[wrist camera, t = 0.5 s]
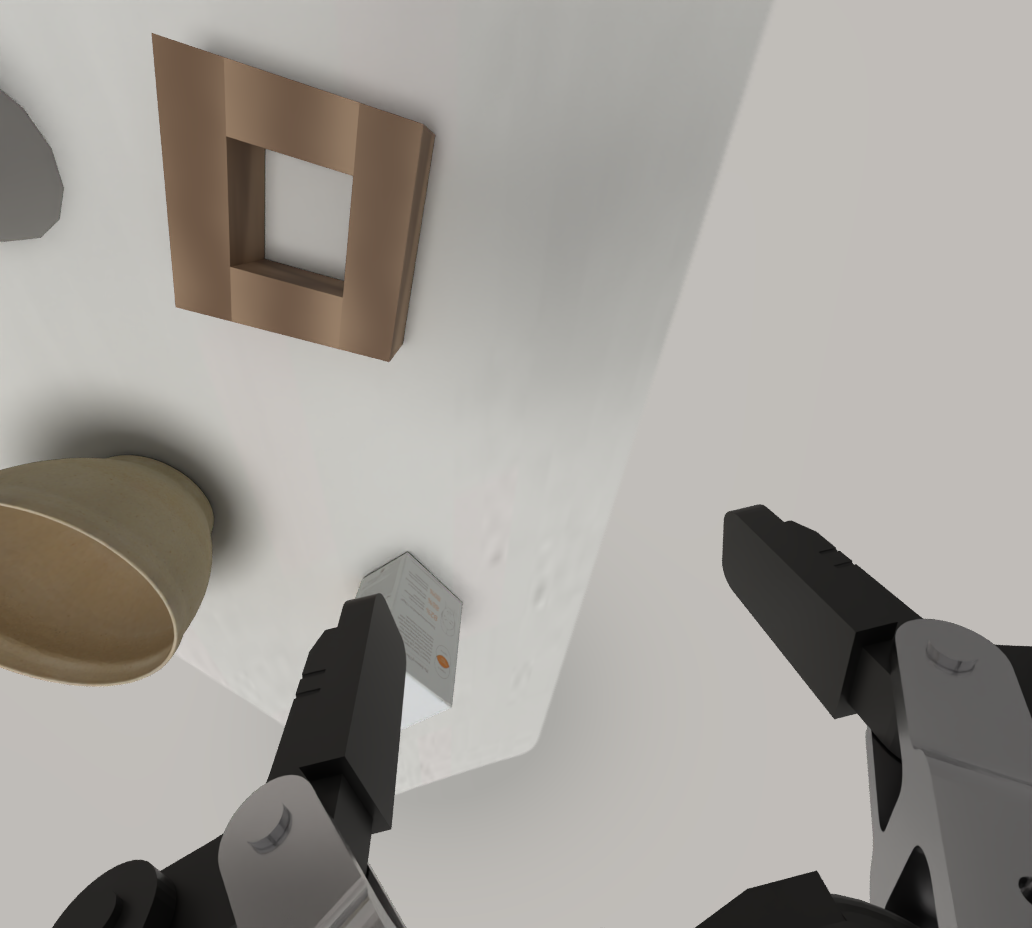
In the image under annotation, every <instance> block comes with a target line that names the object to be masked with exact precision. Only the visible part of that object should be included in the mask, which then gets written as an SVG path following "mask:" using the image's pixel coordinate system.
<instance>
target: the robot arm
mask: <svg viewBox="0 0 1032 928" xmlns="http://www.w3.org/2000/svg"><path fill="white" fill-rule="evenodd" d="M723 532H724V533H723V555H722V566H723V571H724V575H725V577H726V580H727V582H728V584H729V586H730V587H731V589H732V590H733V592H734V593H735V594H736V595H737V597H738V598H739V599H740V600H741V602H742V603H743V604H744V606H745V607H746V608H747V609H748V611H749V612H750V613H751V614H752V616H753V617H754V618H755V619H756V621H757V622H758V623H759V625H760V626H761V627H762V628H763V630H764V631H765V632H766V633H767V635H768V636H769V637H770V638H771V640H772V641H773V642H774V643H775V645H776V646H777V647H778V648H779V650H780V651H781V652H782V654H783V655H784V656H785V657H786V659H787V660H788V661H789V662H790V664H791V665H792V666H793V667H794V669H795V670H796V671H797V673H798V674H799V675H800V676H801V678H802V679H803V680H804V681H805V683H806V684H807V685H808V686H809V688H810V689H811V690H812V691H813V693H814V694H815V695H816V696H817V698H818V699H819V700H820V702H821V703H822V704H823V705H824V706H825V708H826V709H827V710H828V711H829V713H830V714H831V715H832V717H833V718H834V719H837V718H841V717H845V716H849V715H853V714H858V715H859V716H860V717H861V718H862V720H863V721H864V722H865V723H866V724H867V730H866V750H867V763H868V776H869V789H870V803H871V817H872V829H873V855H872V863H871V871H870V903H867V902H865V901H862V900H859V899H854V898H850V897H846V896H841V895H837V894H830V892H829V891H828V889H827V887H826V885H825V884H824V882H823V880H822V879H821V877H820V875H819V873H818V872H817V871H814V872H810V873H806V874H803V875H798V876H795V877H791V878H787V879H784V880H780V881H776V882H772V883H768V884H765V885H761V886H757V887H753V888H749V889H747V890H745V891H744V892H743V893H741V894H740V895H738V896H737V897H736V898H734V899H733V900H732V901H730V902H729V903H728V904H727V905H725V906H724V907H722V908H721V909H720V910H718V911H717V912H716V913H714V914H713V915H712V916H710V917H709V918H707V919H706V920H705V921H704V922H702V923H701V924H699V925H698V926H697V927H695V928H1032V646H1031V647H1030V646H1008V645H994V644H993V643H992V642H990V641H989V640H987V639H986V638H984V637H983V636H981V635H979V634H977V633H975V632H974V631H972V630H969V629H967V628H965V627H962V626H959V625H956V624H954V623H950V622H946V621H941V620H935V619H923V618H922V617H920V616H919V615H918V614H916V613H915V612H914V611H913V610H912V609H910V608H909V607H908V606H907V605H905V604H904V603H903V602H902V601H901V600H899V599H898V598H897V597H896V596H894V595H893V594H892V593H891V592H889V591H888V590H887V589H886V588H885V587H883V586H882V585H881V584H880V583H878V582H877V581H876V580H875V579H874V578H872V577H871V576H870V575H869V574H867V573H866V572H865V571H864V570H863V569H861V568H860V567H859V566H858V565H854V564H853V563H852V560H850V559H849V558H848V557H847V556H845V555H844V554H843V553H842V552H841V551H837V550H836V547H834V546H833V545H832V544H831V543H829V542H828V541H827V540H826V539H825V538H823V537H822V536H821V535H820V534H819V533H817V532H816V531H814V530H811V529H809V528H807V527H805V526H802V525H800V524H798V523H796V522H793V521H787V522H783V521H782V520H781V519H780V518H779V517H777V516H776V515H775V514H774V513H773V512H772V511H770V510H769V509H768V508H767V507H765V506H764V505H754V506H750V507H746V508H742V509H738V510H733V511H729V512H727V513H726V515H725V517H724V530H723ZM302 677H303V678H302V679H300V682H299V685H298V688H297V692H296V699H294V701H293V704H292V707H291V710H290V713H289V716H288V719H287V722H286V725H285V728H284V732H283V735H282V738H281V741H280V744H279V747H278V750H277V753H276V756H275V759H274V762H273V765H272V768H271V771H270V774H269V777H268V779H267V782H266V784H264V785H263V786H261V787H260V788H259V789H257V790H256V791H255V792H253V793H252V794H251V795H250V796H249V797H248V798H247V799H246V800H245V801H244V802H243V803H242V805H241V806H240V807H239V808H238V809H237V811H236V812H235V814H234V815H233V816H232V818H231V820H230V822H229V823H228V825H227V827H226V829H225V831H224V833H223V834H222V835H220V836H219V837H217V838H216V839H214V840H212V841H211V842H209V843H207V844H206V845H204V846H202V847H201V848H199V849H197V850H195V851H194V852H192V853H191V854H189V855H187V856H185V857H183V858H182V859H180V860H178V861H177V862H175V863H173V864H172V865H170V866H168V867H166V868H165V869H163V870H161V871H159V870H158V869H156V868H155V867H154V866H153V865H151V864H150V863H149V862H147V861H144V860H132V861H128V862H125V863H122V864H120V865H118V866H116V867H114V868H112V869H110V870H108V871H107V872H105V873H104V874H103V875H101V876H100V877H98V878H97V879H96V880H95V881H93V882H92V883H91V884H90V885H88V886H87V887H86V888H85V889H84V890H83V891H82V892H81V893H80V894H79V895H78V896H77V897H76V898H75V899H74V901H72V902H71V904H70V905H69V906H68V907H67V908H66V910H65V911H64V912H63V913H62V915H61V916H60V917H59V919H58V920H57V921H56V923H55V924H54V926H53V927H52V928H406V926H405V924H404V923H403V921H402V919H401V918H400V916H399V914H398V912H397V911H396V909H395V908H394V906H393V904H392V902H391V900H390V899H389V897H388V895H387V893H386V892H385V890H384V888H383V886H382V885H381V883H380V881H379V880H378V878H377V876H376V874H375V873H374V871H373V869H372V867H371V866H370V864H369V863H368V856H369V848H370V839H371V834H374V833H378V832H382V831H386V830H390V829H391V827H392V816H393V805H394V795H395V784H396V773H397V763H398V752H399V741H400V730H401V720H402V709H403V698H404V687H405V677H406V652H405V646H404V642H403V639H402V637H401V634H400V632H399V630H398V627H397V625H396V623H395V621H394V618H393V616H392V614H391V611H390V609H389V607H388V605H387V602H386V600H385V598H384V596H383V595H382V594H381V593H377V594H373V595H369V596H364V597H360V598H356V599H352V600H348V601H346V602H345V603H344V606H343V609H342V612H341V616H340V620H339V623H338V627H336V628H332V629H328V630H325V631H324V633H323V634H322V635H321V637H320V638H319V639H318V641H317V642H316V644H315V645H314V646H313V648H312V649H311V650H310V652H309V655H308V658H307V661H306V664H305V667H304V670H303V673H302Z"/></svg>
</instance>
